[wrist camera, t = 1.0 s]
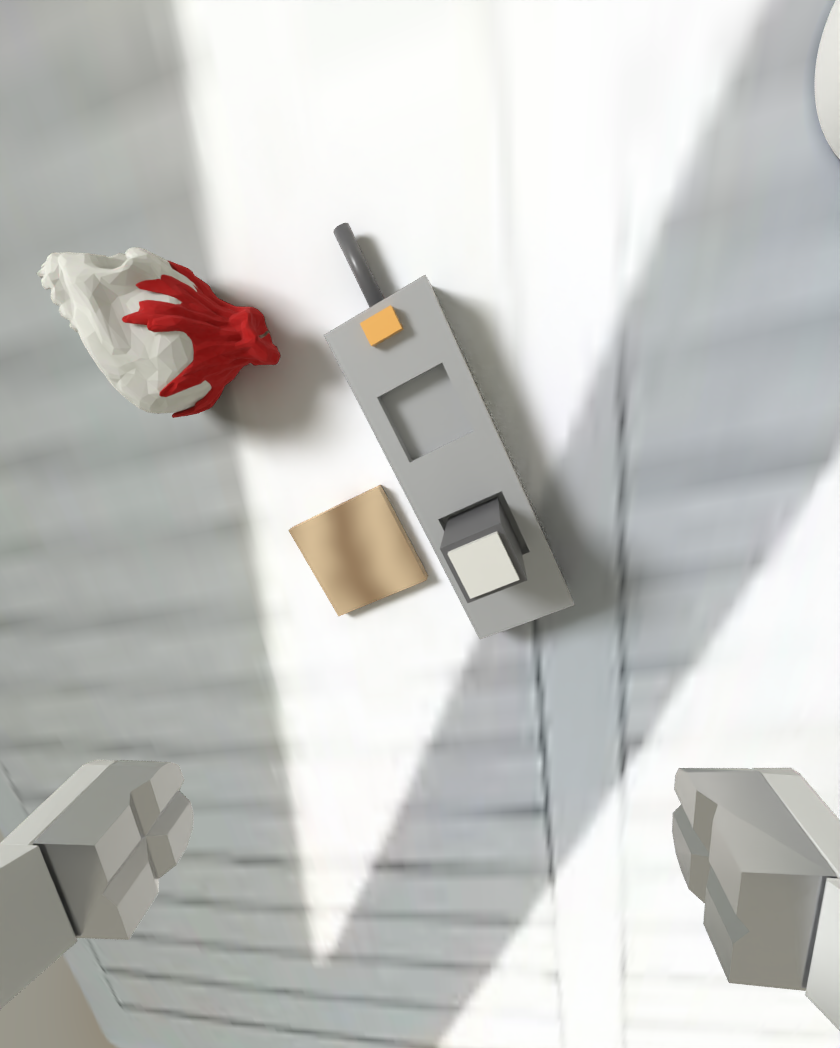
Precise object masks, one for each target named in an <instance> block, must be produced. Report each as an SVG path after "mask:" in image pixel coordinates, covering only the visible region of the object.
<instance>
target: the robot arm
mask: <svg viewBox="0 0 840 1048" xmlns="http://www.w3.org/2000/svg"><path fill="white" fill-rule="evenodd" d="M815 102H816V109H817V114H818V118H819V122H820V125H821V128H822V131H823V133H824V136H825V138H826V140H827V142H828V144H829V145H830V147H831V149H832V150H833V152H834V153H835V154H836V156H837V157H838V158H839V159H840V0H836V1H835V3H834V5H833V7H832V9H831V12H830V14H829V17H828V19H827V22H826V25H825V28H824V31H823V34H822V38H821V41H820V45H819V50H818V55H817V61H816V68H815ZM183 782H184V777H183V774H182V771H181V769H180V766H179V765H178V764H175V763H172V762H157V761H133V760H120V761H116V760H93V761H91V762H89V763H86V764H84V765H83V766H81V767H80V768H79V769H78V770H77V771H76V772H75V773H74V774H73V775H72V776H71V777H70V778H69V779H68V780H67V781H66V782H65V783H63V784H62V785H61V786H60V787H59V788H58V789H57V790H56V791H55V792H54V793H53V794H52V795H51V796H50V797H49V798H48V799H47V800H45V801H44V802H43V803H42V804H41V805H40V806H39V807H38V808H37V809H36V810H35V811H34V812H33V813H32V814H31V815H30V816H29V817H27V818H26V819H25V820H24V821H23V822H22V823H21V824H20V825H19V826H18V827H17V828H16V829H15V830H14V831H13V832H12V833H10V834H9V835H8V836H7V837H6V838H5V839H4V840H3V841H2V842H1V843H0V1009H1V1008H3V1007H4V1006H5V1005H6V1004H7V1003H8V1002H9V1001H10V1000H12V999H13V998H14V997H15V996H16V995H17V994H18V993H20V992H21V991H22V990H23V989H24V988H25V987H26V986H27V985H29V984H30V983H31V982H32V981H33V980H34V979H35V978H37V977H38V976H39V975H40V974H41V973H42V972H43V971H45V970H46V969H47V968H48V967H49V966H50V965H51V964H52V963H53V962H55V961H56V960H57V959H58V958H59V957H60V956H62V955H63V954H64V953H65V952H66V951H67V950H68V949H69V948H71V947H72V946H73V945H74V944H75V943H76V942H77V938H95V939H125V940H129V939H130V937H131V936H132V934H133V933H134V931H135V930H136V928H137V926H138V925H139V923H140V922H141V920H142V919H143V917H144V915H145V914H146V912H147V911H148V909H149V908H150V906H151V904H152V903H153V901H154V900H155V898H156V897H157V895H158V893H159V878H160V877H162V876H163V875H164V874H166V873H167V872H168V871H169V870H171V869H172V868H173V867H175V866H176V865H177V863H178V862H179V860H180V858H181V857H182V855H183V853H184V852H185V850H186V848H187V846H188V843H189V840H190V837H191V833H192V830H193V817H194V813H193V809H192V805H191V801H190V800H189V799H188V798H187V797H186V796H185V795H184V794H183V793H182V792H181V791H180V788H181V786H182V784H183ZM674 790H675V792H676V794H677V796H678V798H679V800H680V802H681V805H680V806H679V807H678V808H677V809H676V810H675V812H674V813H673V823H672V833H673V839H674V845H675V852H676V855H677V859H678V862H679V865H680V868H681V871H682V874H683V876H684V879H685V881H686V883H687V886H688V888H689V890H691V891H692V892H693V893H694V894H695V895H696V896H697V897H698V898H699V899H700V900H702V901H703V902H704V903H705V910H704V923H703V924H704V926H705V928H706V931H707V933H708V935H709V938H710V940H711V942H712V945H713V947H714V949H715V952H716V954H717V956H718V959H719V961H720V963H721V966H722V968H723V970H724V973H725V975H726V977H727V980H728V982H729V983H735V984H745V985H755V986H765V987H774V988H784V989H794V990H803V991H806V993H805V995H806V996H807V997H808V999H809V1000H810V1001H811V1002H812V1003H813V1004H814V1005H815V1006H816V1007H817V1008H818V1009H819V1010H820V1011H821V1012H822V1013H823V1014H824V1015H825V1016H826V1017H827V1018H828V1019H829V1020H830V1021H831V1022H832V1023H833V1024H834V1025H835V1027H836V1028H837V1029H838V1030H839V1031H840V820H839V819H838V818H837V816H836V815H835V814H834V813H833V812H832V811H831V809H830V808H829V807H828V806H827V805H826V803H825V802H824V801H823V800H822V799H821V798H820V796H819V795H818V794H817V793H816V792H815V791H814V789H813V788H812V787H811V786H810V785H809V784H808V782H807V781H806V780H805V779H804V778H803V776H802V775H801V774H800V773H798V772H797V771H795V770H793V769H792V768H752V769H748V768H679V769H678V771H677V773H676V775H675V786H674Z"/></svg>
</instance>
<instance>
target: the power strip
mask: <svg viewBox="0 0 840 1048" xmlns="http://www.w3.org/2000/svg"><path fill="white" fill-rule="evenodd" d="M334 235H335V237H336V239H337V241H338V243H339V245H340V247H341V249H342V251H343V253H344V255H345V257H346V259H347V261H348V263H349V265H350V268H351V270H352V272H353V274H354V276H355V278H356V280H357V282H358V284H359V286H360V288H361V290H362V292H363V294H364V296H365V298H366V300H367V303H368V305H369V307H370V308H368V309H367V310H365V311H363V312H362V313H360V314H358V315H357V316H355V317H353V318H352V319H350V320H348V321H347V322H345V323H343V324H342V325H340V326H338V327H336V328H335V329H333V330H331V331H330V332H328V333H326V334H325V335H324V337H325V339H326V341H327V343H328V344H329V346H330V348H331V350H332V352H333V354H334V356H335V358H336V360H337V362H338V364H339V366H340V368H341V370H342V372H343V374H344V376H345V378H346V380H347V382H348V383H349V385H350V387H351V389H352V391H353V393H354V395H355V397H356V399H357V401H358V403H359V405H360V407H361V409H362V411H363V413H364V415H365V417H366V419H367V421H368V422H369V424H370V426H371V428H372V430H373V432H374V434H375V436H376V438H377V440H378V442H379V444H380V446H381V448H382V450H383V452H384V454H385V456H386V458H387V460H388V461H389V463H390V465H391V467H392V469H393V471H394V473H395V475H396V477H397V479H398V481H399V483H400V485H401V487H402V489H403V491H404V493H405V495H406V497H407V499H408V500H409V502H410V504H411V506H412V508H413V510H414V512H415V514H416V516H417V518H418V520H419V522H420V524H421V526H422V528H423V530H424V532H425V534H426V536H427V538H428V539H429V541H430V543H431V545H432V547H433V549H434V551H435V553H436V555H437V557H438V559H439V561H440V563H441V565H442V567H443V569H444V571H445V573H446V575H447V577H448V578H449V580H450V582H451V584H452V586H453V588H454V590H455V592H456V594H457V596H458V598H459V600H460V602H461V604H462V606H463V608H464V610H465V612H466V614H467V616H468V617H469V619H470V621H471V623H472V625H473V627H474V629H475V631H476V633H477V635H478V637H479V639H483V638H486V637H488V636H491V635H494V634H497V633H499V632H502V631H505V630H508V629H510V628H513V627H516V626H519V625H521V624H524V623H527V622H530V621H533V620H535V619H538V618H541V617H544V616H546V615H549V614H552V613H555V612H557V611H560V610H563V609H566V608H568V607H571V606H574V605H575V604H574V602H573V599H572V597H571V594H570V592H569V589H568V587H567V584H566V582H565V580H564V577H563V575H562V573H561V571H560V569H559V566H558V564H557V562H556V560H555V558H554V555H553V553H552V551H551V549H550V547H549V544H548V542H547V540H546V538H545V535H544V533H543V531H542V529H541V527H540V524H539V522H538V520H537V518H536V516H535V513H534V511H533V509H532V507H531V504H530V502H529V500H528V498H527V496H526V493H525V491H524V489H523V487H522V485H521V482H520V480H519V478H518V476H517V473H516V471H515V469H514V467H513V465H512V462H511V460H510V458H509V456H508V454H507V451H506V449H505V447H504V445H503V443H502V440H501V438H500V436H499V434H498V431H497V429H496V427H495V425H494V423H493V420H492V418H491V416H490V414H489V412H488V409H487V407H486V405H485V403H484V400H483V398H482V396H481V394H480V392H479V389H478V387H477V385H476V383H475V381H474V378H473V376H472V374H471V372H470V369H469V367H468V365H467V363H466V361H465V358H464V356H463V354H462V352H461V350H460V347H459V345H458V343H457V341H456V339H455V336H454V334H453V332H452V330H451V327H450V325H449V323H448V321H447V319H446V316H445V314H444V312H443V310H442V308H441V305H440V303H439V301H438V299H437V296H436V294H435V292H434V290H433V288H432V285H431V284H430V282H429V280H428V279H427V277H426V275H424V276H422V277H420V278H419V279H417V280H415V281H414V282H412V283H410V284H409V285H407V286H405V287H404V288H402V289H400V290H399V291H397V292H395V293H394V294H392V295H390V296H389V297H387V298H385V299H384V297H383V295H382V293H381V291H380V289H379V287H378V285H377V283H376V281H375V278H374V276H373V274H372V272H371V270H370V268H369V266H368V264H367V262H366V260H365V257H364V255H363V253H362V251H361V249H360V247H359V245H358V243H357V241H356V239H355V236H354V234H353V232H352V230H351V228H350V226H349V224H348V223H343V224H341V225H339V226H337V227H336V228H335V229H334ZM497 496H498V498H499V500H500V502H501V504H502V506H503V508H504V510H505V513H506V515H507V517H508V519H509V521H510V523H511V525H512V528H513V530H514V532H515V534H516V536H517V538H518V540H519V543H520V546H521V551H522V556H523V561H524V566H525V571H526V576H527V581H524V582H522V583H519V584H517V585H514V586H511V587H509V588H506V589H504V590H501V591H498V592H496V593H493V594H491V595H488V596H486V597H483V598H480V599H478V600H475V601H473V602H470V603H467V601H466V599H465V597H464V595H463V594H462V592H461V590H460V588H459V586H458V584H457V582H456V580H455V578H454V576H453V574H452V572H451V570H450V568H449V566H448V564H447V562H446V560H445V558H444V556H443V554H442V552H441V550H440V546H441V542H442V539H443V535H444V531H445V528H446V524H447V520H448V518H449V517H452V516H454V515H456V514H458V513H461V512H463V511H465V510H467V509H470V508H472V507H474V506H476V505H479V504H481V503H483V502H486V501H488V500H490V499H492V498H495V497H497Z"/></svg>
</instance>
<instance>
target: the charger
mask: <svg viewBox="0 0 840 1048" xmlns="http://www.w3.org/2000/svg"><path fill="white" fill-rule="evenodd" d="M440 550H441V552H442V554H443V556H444V558H445V560H446V562H447V564H448V566H449V568H450V570H451V572H452V574H453V576H454V578H455V580H456V582H457V584H458V586H459V588H460V590H461V592H462V594H463V595H464V597H465V599H466V601H467V603H470V602H473V601H475V600H478V599H480V598H483V597H486V596H488V595H491V594H493V593H496V592H498V591H501V590H504V589H506V588H509V587H511V586H514V585H517V584H519V583H522V582H524V581H527V576H526V571H525V566H524V561H523V556H522V551H521V546H520V543H519V540H518V538H517V536H516V534H515V532H514V530H513V528H512V525H511V523H510V521H509V519H508V517H507V515H506V513H505V510H504V508H503V506H502V504H501V502H500V500H499V498H498V496H497V497H495V498H492V499H490V500H488V501H486V502H483V503H481V504H479V505H476V506H474V507H472V508H470V509H467V510H465V511H463V512H461V513H458V514H456V515H454V516H452V517H449V518H448V520H447V524H446V528H445V531H444V535H443V539H442V542H441V546H440Z"/></svg>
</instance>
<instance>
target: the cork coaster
mask: <svg viewBox="0 0 840 1048" xmlns="http://www.w3.org/2000/svg"><path fill="white" fill-rule="evenodd" d="M289 532H290V534H291V535H292V537H293V539H294V541H295V542H296V544H297V546H298V547H299V549H300V551H301V553H302V554H303V556H304V558H305V560H306V561H307V563H308V565H309V566H310V568H311V570H312V572H313V573H314V575H315V577H316V578H317V580H318V582H319V584H320V585H321V587H322V589H323V590H324V592H325V594H326V596H327V597H328V599H329V601H330V602H331V604H332V606H333V608H334V609H335V611H336V613H337V614H338V616H341V615H343V614H346V613H348V612H350V611H353V610H355V609H358V608H360V607H363V606H365V605H367V604H370V603H372V602H375V601H377V600H380V599H382V598H385V597H387V596H389V595H392V594H394V593H397V592H399V591H402V590H404V589H406V588H409V587H411V586H414V585H416V584H419V583H421V582H424V581H426V580H427V577H428V574H427V573H426V571H425V569H424V567H423V565H422V563H421V561H420V559H419V557H418V555H417V553H416V551H415V550H414V548H413V546H412V544H411V542H410V540H409V538H408V536H407V534H406V532H405V530H404V529H403V527H402V525H401V523H400V521H399V519H398V517H397V515H396V513H395V511H394V509H393V507H392V506H391V504H390V502H389V500H388V498H387V496H386V494H385V492H384V490H383V488H382V486H381V485H379V486H377V487H375V488H373V489H371V490H368V491H366V492H364V493H362V494H360V495H358V496H356V497H354V498H352V499H350V500H348V501H346V502H344V503H341V504H339V505H337V506H335V507H333V508H331V509H329V510H327V511H325V512H323V513H321V514H319V515H317V516H314V517H312V518H310V519H308V520H306V521H304V522H302V523H300V524H298V525H296V526H294V527H292V528H291V529H289Z"/></svg>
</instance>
